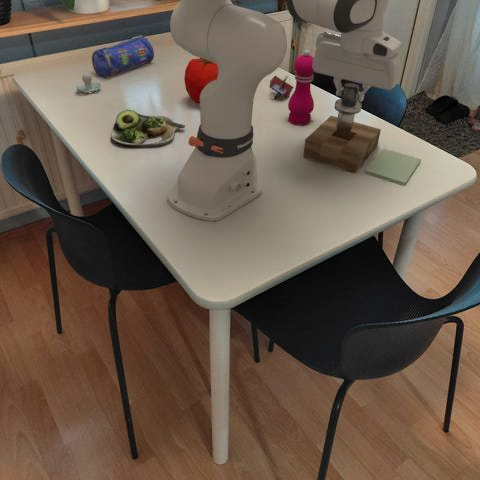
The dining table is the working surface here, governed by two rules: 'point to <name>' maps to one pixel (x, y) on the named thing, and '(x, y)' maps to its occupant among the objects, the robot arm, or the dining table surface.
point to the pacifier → (88, 84)
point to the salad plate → (142, 129)
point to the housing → (341, 145)
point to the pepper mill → (302, 91)
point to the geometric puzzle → (280, 87)
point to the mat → (393, 166)
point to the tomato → (199, 77)
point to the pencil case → (122, 56)
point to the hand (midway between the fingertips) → (349, 97)
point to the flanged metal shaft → (347, 107)
